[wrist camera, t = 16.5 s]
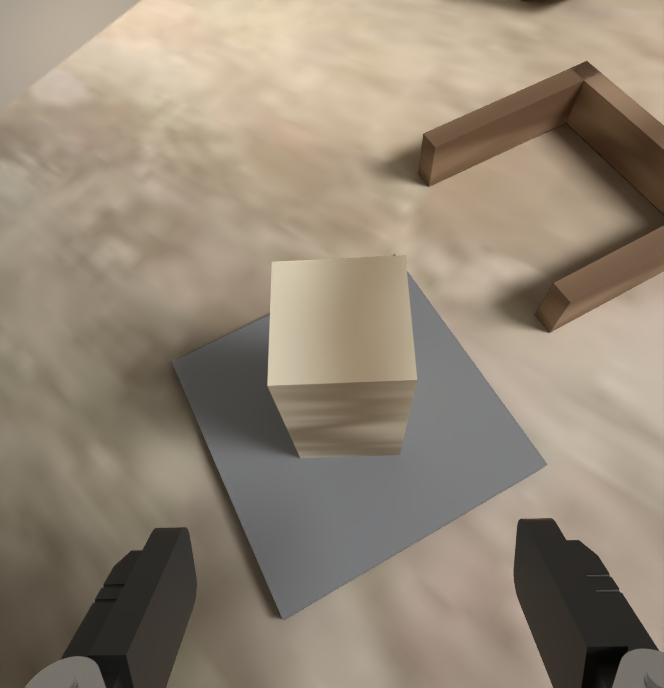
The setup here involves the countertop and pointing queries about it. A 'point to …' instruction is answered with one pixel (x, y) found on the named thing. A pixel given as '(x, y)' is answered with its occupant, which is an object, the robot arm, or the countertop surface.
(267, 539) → the pad
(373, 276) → the ash block
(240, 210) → the countertop surface
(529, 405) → the countertop surface
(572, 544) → the robot arm
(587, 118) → the stall
